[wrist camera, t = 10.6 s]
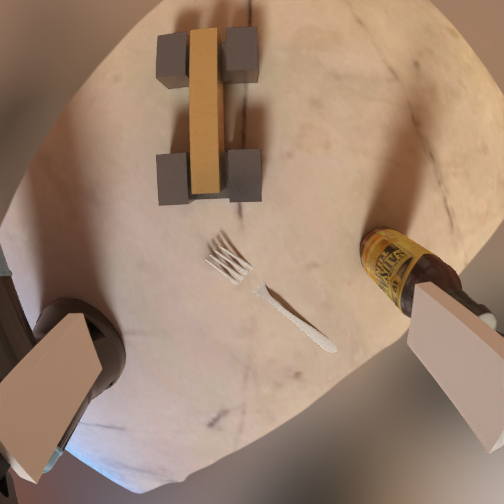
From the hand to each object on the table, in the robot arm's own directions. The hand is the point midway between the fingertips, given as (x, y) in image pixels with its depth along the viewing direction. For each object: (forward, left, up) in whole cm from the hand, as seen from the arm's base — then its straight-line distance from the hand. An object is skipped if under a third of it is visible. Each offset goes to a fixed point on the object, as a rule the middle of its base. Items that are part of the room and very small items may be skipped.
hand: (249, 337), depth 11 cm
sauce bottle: (+16, -4, -25) cm, 29 cm away
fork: (+4, -12, -25) cm, 28 cm away
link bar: (-4, +12, -23) cm, 26 cm away
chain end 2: (-4, +5, -24) cm, 25 cm away
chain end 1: (-4, +18, -24) cm, 31 cm away
